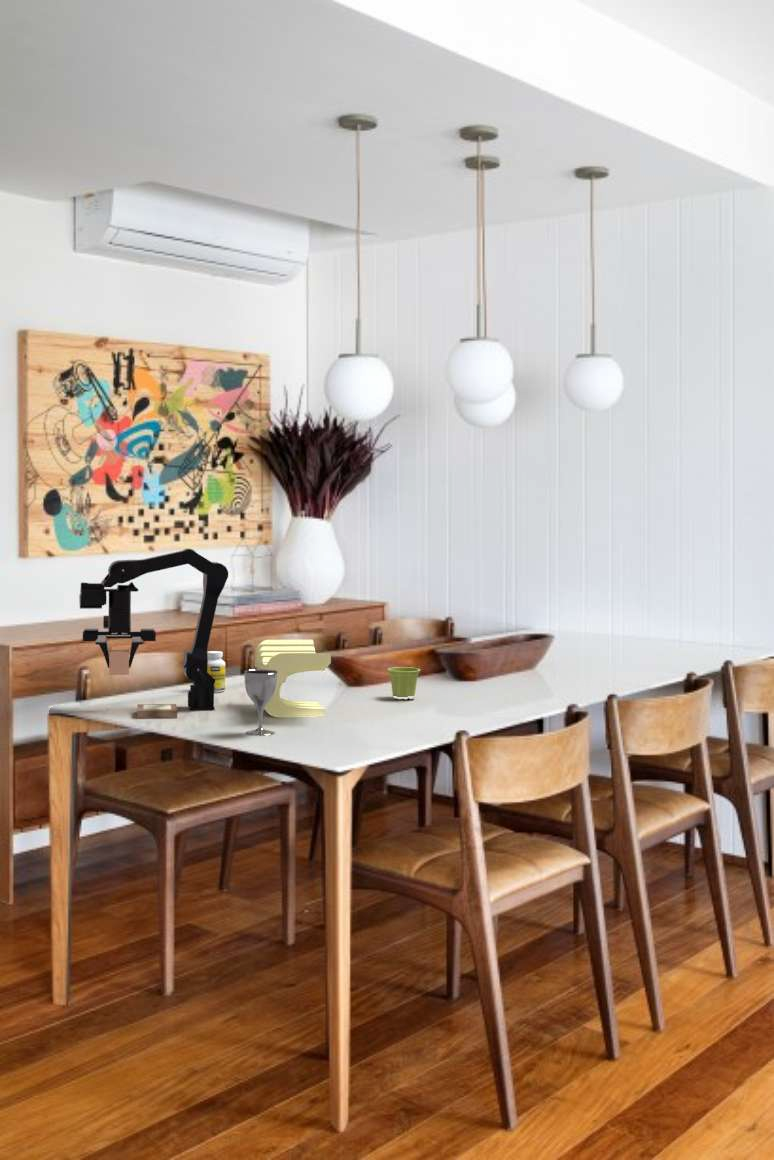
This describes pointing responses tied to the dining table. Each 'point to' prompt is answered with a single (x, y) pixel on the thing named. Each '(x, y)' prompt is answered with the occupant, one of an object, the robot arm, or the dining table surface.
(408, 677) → the plant pot
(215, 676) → the pill bottle
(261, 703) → the wine glass
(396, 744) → the dining table surface
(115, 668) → the terracotta block
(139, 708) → the walnut plinth
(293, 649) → the slatted curved stool
